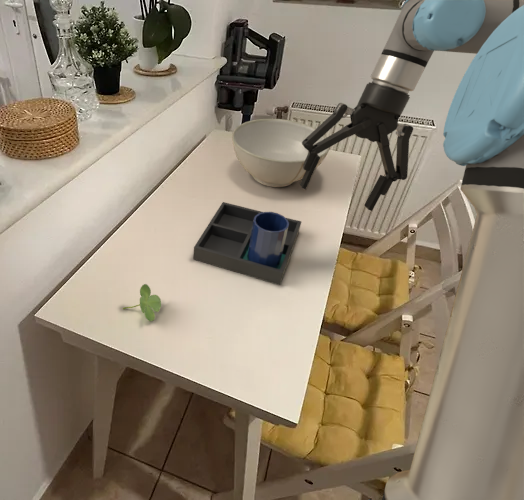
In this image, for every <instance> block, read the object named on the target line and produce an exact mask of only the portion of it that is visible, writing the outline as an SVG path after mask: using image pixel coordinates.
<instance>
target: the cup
mask: <svg viewBox="0 0 524 500" xmlns="http://www.w3.org/2000/svg"><path fill="white" fill-rule="evenodd" d="M261 212H262V213H259V214H257V215H256V216H255V217H254V220H253V226H252V232H251V238H250V244H249V250H248V256H247V260H248V261H252V262H255V263H259V264H262V265H266V266H269V267H273V268H276V269H277V268H278V267H279V264H280V260H281V256H282V252H283V248H284V243H285V239H286V235H287V231H288V226H289V222H288V220H287V219H286V218H287V217H285V216H284V215H282V214H280V213H278V212H274V211H261Z"/></svg>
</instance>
